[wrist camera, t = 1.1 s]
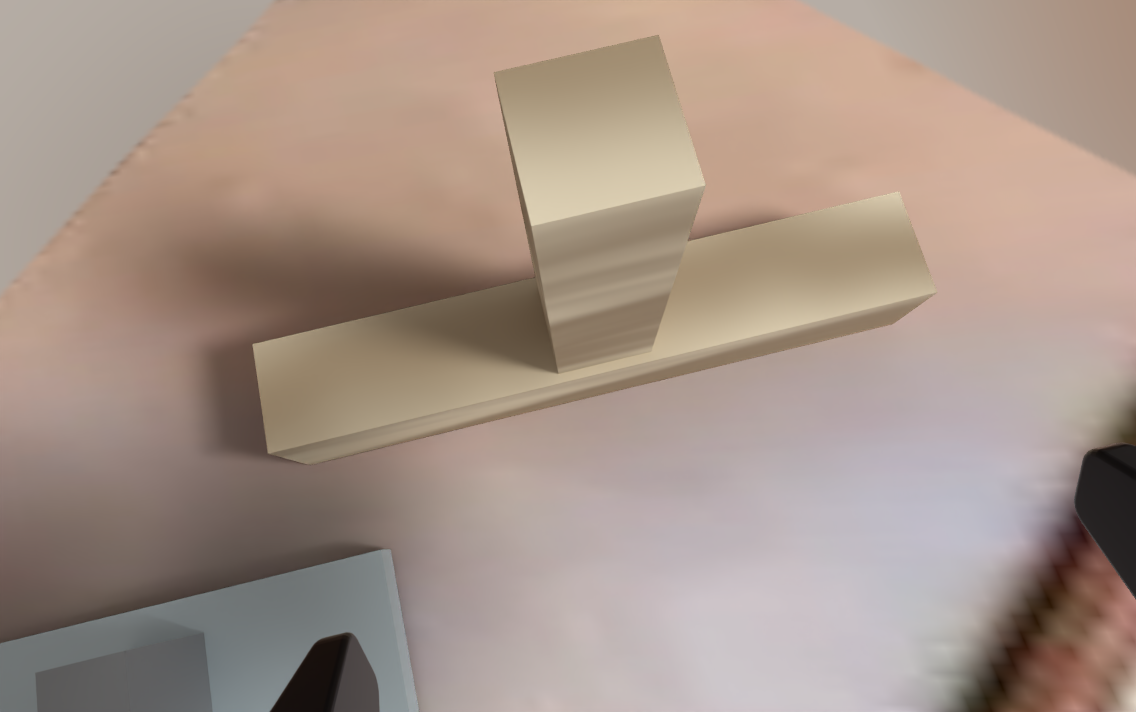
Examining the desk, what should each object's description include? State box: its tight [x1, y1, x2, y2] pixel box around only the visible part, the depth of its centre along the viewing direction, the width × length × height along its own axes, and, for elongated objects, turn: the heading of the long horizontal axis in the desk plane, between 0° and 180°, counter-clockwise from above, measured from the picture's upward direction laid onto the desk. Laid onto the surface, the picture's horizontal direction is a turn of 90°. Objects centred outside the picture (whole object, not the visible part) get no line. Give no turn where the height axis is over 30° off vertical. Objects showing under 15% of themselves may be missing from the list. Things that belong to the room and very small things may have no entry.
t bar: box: [252, 35, 937, 465], centre depth 17 cm, size 3×18×12 cm, turn 104°
